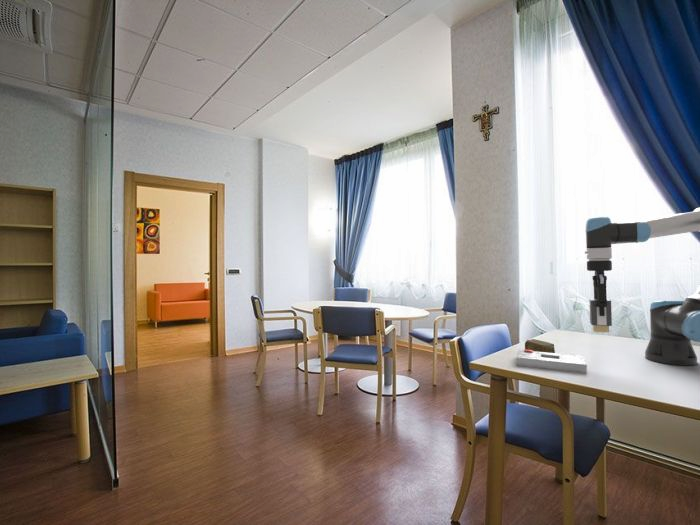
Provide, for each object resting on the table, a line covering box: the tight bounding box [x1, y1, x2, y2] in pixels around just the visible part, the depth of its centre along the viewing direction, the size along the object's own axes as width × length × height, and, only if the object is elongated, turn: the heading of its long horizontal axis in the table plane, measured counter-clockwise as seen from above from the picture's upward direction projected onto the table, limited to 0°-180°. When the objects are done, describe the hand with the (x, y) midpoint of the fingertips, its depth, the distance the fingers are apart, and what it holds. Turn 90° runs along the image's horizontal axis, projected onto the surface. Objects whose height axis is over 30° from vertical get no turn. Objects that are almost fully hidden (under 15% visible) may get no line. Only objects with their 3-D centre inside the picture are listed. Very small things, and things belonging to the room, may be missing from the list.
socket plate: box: [516, 348, 588, 374], centre depth 136 cm, size 22×13×4 cm, turn 62°
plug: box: [589, 298, 613, 333], centre depth 132 cm, size 6×5×12 cm
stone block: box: [524, 338, 556, 353], centre depth 154 cm, size 6×12×5 cm, turn 18°
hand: (600, 323), depth 132 cm, fingers closed on plug, 5 cm apart
